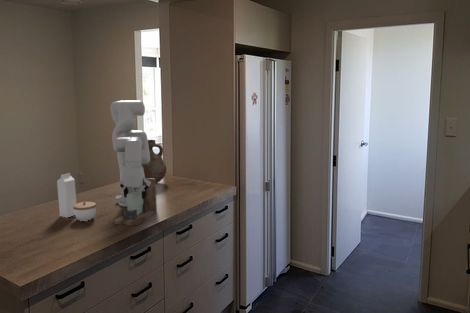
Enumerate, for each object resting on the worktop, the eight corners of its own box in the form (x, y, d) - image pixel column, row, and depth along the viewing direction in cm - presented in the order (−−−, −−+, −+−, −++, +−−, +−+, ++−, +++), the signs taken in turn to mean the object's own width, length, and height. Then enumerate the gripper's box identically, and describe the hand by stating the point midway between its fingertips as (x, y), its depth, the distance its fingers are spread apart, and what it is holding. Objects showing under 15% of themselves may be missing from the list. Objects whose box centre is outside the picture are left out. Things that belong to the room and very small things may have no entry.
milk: (59, 216, 206) (55, 174, 202) (69, 213, 211) (65, 172, 208) (68, 218, 203) (64, 175, 199) (77, 215, 209) (74, 173, 205)
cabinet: (113, 223, 195) (111, 187, 192) (136, 210, 216) (134, 177, 213) (136, 225, 192) (134, 188, 189) (156, 211, 213) (155, 178, 210)
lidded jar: (81, 224, 194) (79, 205, 192) (69, 220, 201) (68, 201, 199) (101, 219, 202) (99, 201, 200) (89, 214, 209) (88, 197, 207)
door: (127, 218, 198) (126, 194, 196) (139, 210, 210) (138, 188, 208) (132, 218, 198) (131, 194, 196) (143, 211, 209) (142, 188, 207)
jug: (135, 181, 282) (133, 138, 277) (166, 180, 286) (165, 137, 280) (133, 189, 261) (131, 143, 256) (167, 187, 265) (165, 142, 259)
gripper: (113, 164, 198) (115, 198, 201) (145, 166, 193) (147, 200, 196) (121, 161, 205) (123, 194, 208) (153, 163, 201) (154, 196, 204)
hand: (135, 197), depth 202 cm, fingers open, 9 cm apart
